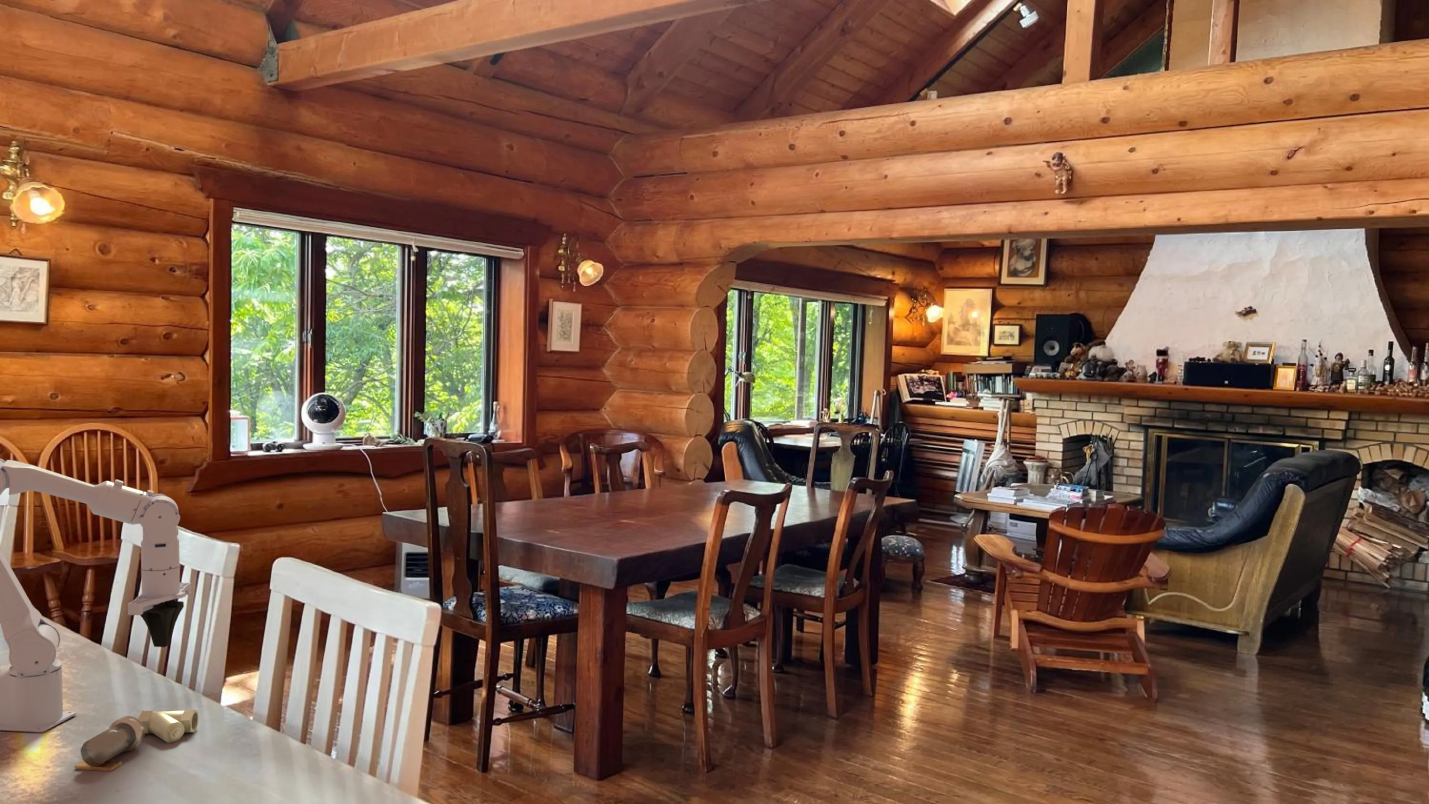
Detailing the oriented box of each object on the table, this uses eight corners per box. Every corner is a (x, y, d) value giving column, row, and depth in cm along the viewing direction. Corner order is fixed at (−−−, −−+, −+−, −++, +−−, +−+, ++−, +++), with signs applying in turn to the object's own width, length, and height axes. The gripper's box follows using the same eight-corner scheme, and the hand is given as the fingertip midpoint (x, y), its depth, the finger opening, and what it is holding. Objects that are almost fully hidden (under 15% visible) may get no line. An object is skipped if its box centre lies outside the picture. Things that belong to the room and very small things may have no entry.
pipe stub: (111, 771, 149) (110, 737, 149) (74, 769, 149) (74, 735, 149) (147, 748, 157) (146, 716, 157) (112, 746, 158) (111, 715, 157)
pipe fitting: (183, 747, 159) (199, 727, 166) (181, 723, 159) (198, 704, 166) (128, 748, 159) (147, 729, 165) (127, 725, 158) (145, 706, 165)
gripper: (156, 577, 166) (157, 659, 167) (207, 558, 181) (208, 634, 182) (115, 576, 167) (116, 658, 168) (169, 557, 181) (170, 632, 182)
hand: (161, 645), depth 175 cm, fingers closed
